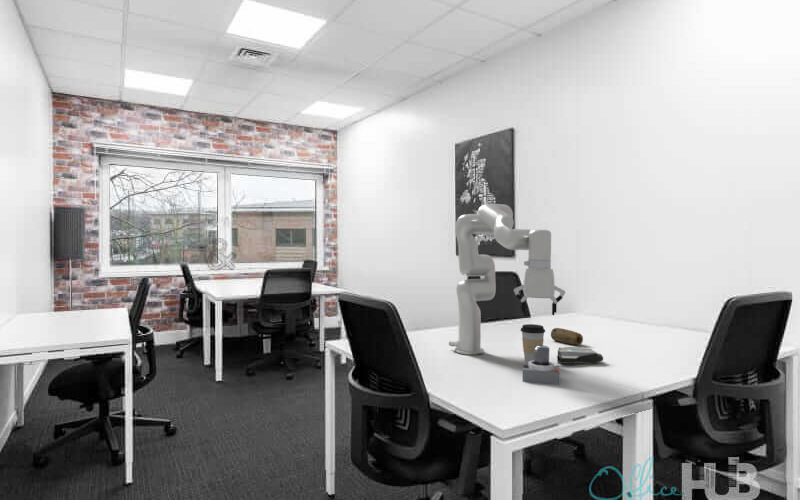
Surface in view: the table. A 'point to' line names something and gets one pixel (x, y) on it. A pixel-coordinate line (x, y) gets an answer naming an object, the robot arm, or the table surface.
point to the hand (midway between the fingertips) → (538, 313)
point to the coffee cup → (531, 339)
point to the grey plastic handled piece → (578, 355)
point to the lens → (541, 355)
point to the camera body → (540, 373)
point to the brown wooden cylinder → (566, 336)
